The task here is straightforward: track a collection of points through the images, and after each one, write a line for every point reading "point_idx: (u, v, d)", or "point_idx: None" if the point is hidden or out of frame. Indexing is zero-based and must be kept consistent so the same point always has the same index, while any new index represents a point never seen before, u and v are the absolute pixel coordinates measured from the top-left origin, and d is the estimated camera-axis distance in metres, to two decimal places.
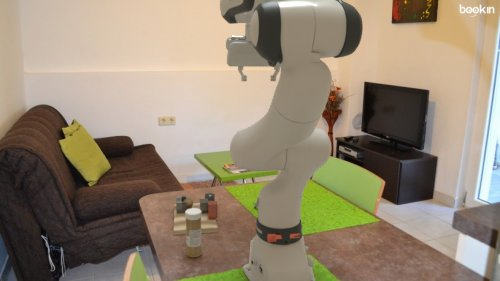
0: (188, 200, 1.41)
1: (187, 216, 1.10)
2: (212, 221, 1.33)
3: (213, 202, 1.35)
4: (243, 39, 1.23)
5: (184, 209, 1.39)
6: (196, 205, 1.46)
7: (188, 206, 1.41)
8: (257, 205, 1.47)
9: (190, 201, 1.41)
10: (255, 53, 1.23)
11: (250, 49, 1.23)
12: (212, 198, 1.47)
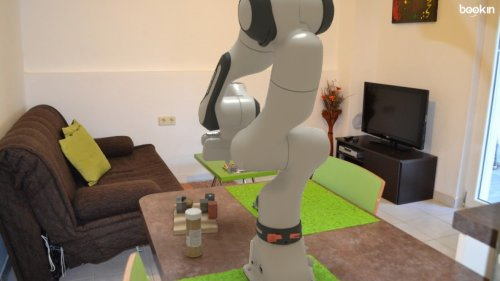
0: (188, 200, 1.41)
1: (187, 216, 1.10)
2: (212, 221, 1.33)
3: (213, 202, 1.35)
4: (217, 135, 1.29)
5: (184, 209, 1.39)
6: (196, 205, 1.46)
7: (188, 206, 1.41)
8: (255, 205, 1.47)
9: (190, 201, 1.41)
10: (229, 148, 1.30)
11: (224, 145, 1.29)
12: (212, 198, 1.47)
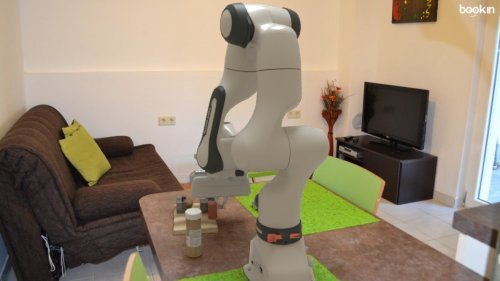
0: (188, 200, 1.41)
1: (187, 216, 1.10)
2: (212, 221, 1.33)
3: (212, 202, 1.35)
4: (205, 173, 1.32)
5: (184, 209, 1.39)
6: (196, 205, 1.46)
7: (188, 206, 1.41)
8: (254, 204, 1.47)
9: (190, 201, 1.41)
10: (216, 186, 1.32)
11: (212, 183, 1.32)
12: (212, 198, 1.47)
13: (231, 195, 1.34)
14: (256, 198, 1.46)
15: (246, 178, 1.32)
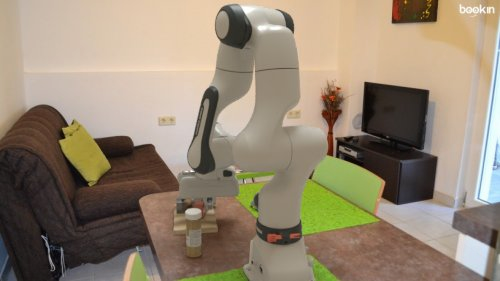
0: (188, 200, 1.41)
1: (187, 216, 1.10)
2: (212, 221, 1.33)
3: (200, 202, 1.35)
4: (193, 174, 1.31)
5: (184, 209, 1.39)
6: None
7: (188, 206, 1.41)
8: (253, 204, 1.47)
9: (190, 201, 1.41)
10: (205, 186, 1.32)
11: (200, 183, 1.31)
12: (211, 198, 1.46)
13: (219, 195, 1.33)
14: (255, 198, 1.47)
15: (234, 178, 1.32)
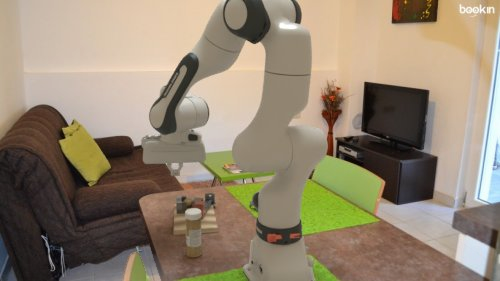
0: (188, 200, 1.41)
1: (187, 216, 1.10)
2: (212, 221, 1.33)
3: (200, 202, 1.35)
4: (158, 138, 1.27)
5: (184, 209, 1.39)
6: None
7: (188, 206, 1.41)
8: (252, 204, 1.48)
9: (190, 201, 1.41)
10: (169, 151, 1.28)
11: (165, 148, 1.27)
12: (211, 198, 1.46)
13: (185, 160, 1.29)
14: (254, 197, 1.47)
15: (200, 143, 1.28)
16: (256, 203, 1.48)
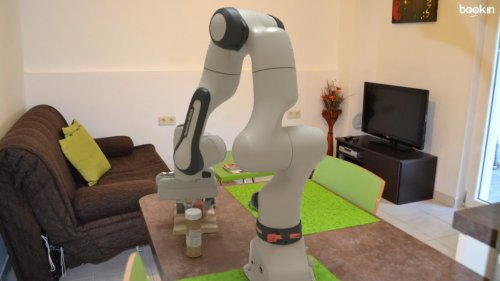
0: (188, 200, 1.41)
1: (187, 216, 1.10)
2: (212, 221, 1.33)
3: (200, 202, 1.35)
4: (172, 175, 1.30)
5: (184, 209, 1.39)
6: None
7: None
8: (251, 203, 1.48)
9: (190, 201, 1.41)
10: (183, 188, 1.31)
11: (179, 184, 1.30)
12: (211, 198, 1.46)
13: (198, 196, 1.32)
14: (253, 197, 1.47)
15: (213, 179, 1.31)
16: (255, 203, 1.48)
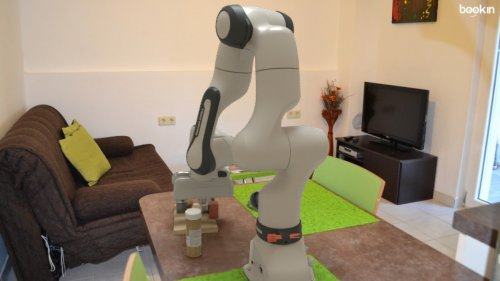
0: (188, 200, 1.41)
1: (187, 216, 1.10)
2: (212, 221, 1.33)
3: (213, 202, 1.35)
4: (188, 174, 1.31)
5: (184, 209, 1.39)
6: (196, 205, 1.46)
7: (188, 206, 1.41)
8: None
9: (190, 201, 1.41)
10: (199, 187, 1.31)
11: (194, 184, 1.31)
12: (212, 198, 1.47)
13: (214, 196, 1.33)
14: (252, 197, 1.48)
15: (229, 179, 1.31)
16: (254, 202, 1.49)
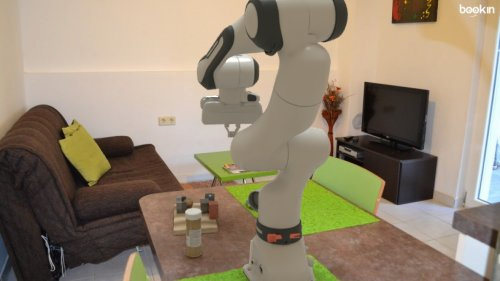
0: (188, 200, 1.41)
1: (187, 216, 1.10)
2: (212, 221, 1.33)
3: (213, 202, 1.35)
4: (217, 99, 1.29)
5: (184, 209, 1.39)
6: (196, 205, 1.46)
7: (188, 206, 1.41)
8: (248, 202, 1.49)
9: (190, 201, 1.41)
10: (228, 112, 1.29)
11: (223, 108, 1.29)
12: (212, 198, 1.47)
13: (243, 122, 1.30)
14: (250, 196, 1.48)
15: (258, 104, 1.29)
16: (252, 202, 1.49)
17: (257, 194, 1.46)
